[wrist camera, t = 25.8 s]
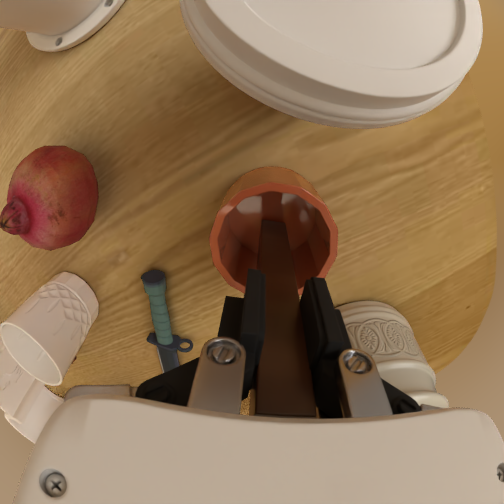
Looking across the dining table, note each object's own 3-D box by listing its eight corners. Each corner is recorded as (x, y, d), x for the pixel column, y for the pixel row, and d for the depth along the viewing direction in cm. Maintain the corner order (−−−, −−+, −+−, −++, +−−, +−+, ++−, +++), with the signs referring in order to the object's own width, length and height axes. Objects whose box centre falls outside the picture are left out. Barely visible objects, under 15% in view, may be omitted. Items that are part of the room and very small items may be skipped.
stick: (261, 219, 21) (254, 413, 7) (285, 222, 21) (317, 416, 7) (258, 240, 22) (246, 439, 8) (281, 244, 22) (301, 442, 8)
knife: (128, 279, 23) (181, 289, 22) (139, 266, 25) (189, 274, 24) (167, 411, 34) (200, 420, 34) (171, 400, 36) (204, 408, 36)
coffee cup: (330, -1, 14) (408, -114, 1) (375, 106, 18) (530, 113, 4) (210, 30, 16) (124, -83, 2) (256, 140, 20) (238, 184, 6)
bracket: (-23, 310, 31) (-58, 350, 20) (-12, 293, 29) (-56, 338, 18) (63, 404, 40) (41, 449, 29) (86, 401, 38) (62, 454, 27)
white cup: (72, 327, 29) (34, 383, 20) (40, 274, 26) (-11, 325, 17) (116, 320, 28) (77, 388, 19) (80, 258, 25) (22, 318, 16)
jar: (269, 360, 29) (267, 517, 14) (349, 274, 24) (421, 462, 8) (351, 391, 32) (374, 513, 16) (426, 325, 27) (490, 454, 11)
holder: (227, 159, 20) (214, 175, 15) (329, 175, 21) (352, 196, 15) (218, 251, 24) (205, 291, 18) (310, 263, 24) (321, 305, 19)
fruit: (94, 241, 24) (31, 301, 15) (40, 192, 22) (-31, 232, 13) (134, 174, 21) (59, 215, 12) (72, 122, 19) (-14, 138, 10)
